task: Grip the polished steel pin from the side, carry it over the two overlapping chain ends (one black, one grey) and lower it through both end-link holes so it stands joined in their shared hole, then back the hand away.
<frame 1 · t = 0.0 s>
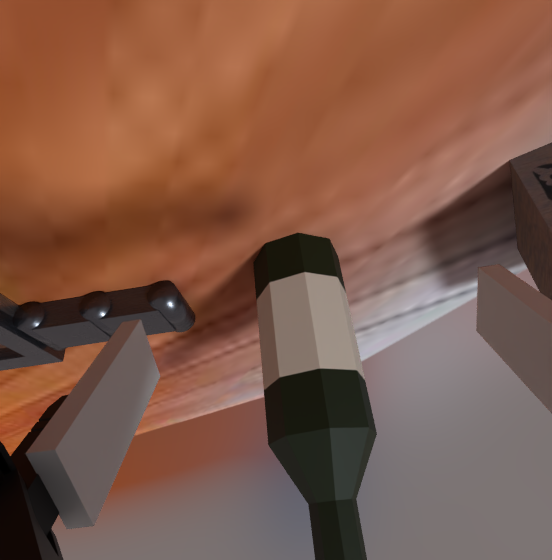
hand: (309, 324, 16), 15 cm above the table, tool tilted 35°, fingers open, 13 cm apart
wine bottle: (295, 257, 39), on the table
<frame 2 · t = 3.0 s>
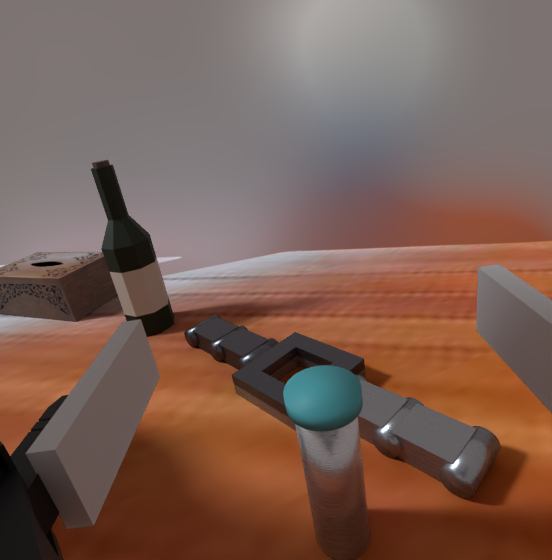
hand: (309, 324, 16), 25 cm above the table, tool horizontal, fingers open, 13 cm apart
steel pin: (342, 533, 34), on the table
chain ends: (300, 385, 52), on the table
wine bottle: (153, 326, 75), on the table
tissue box cover: (63, 304, 93), on the table
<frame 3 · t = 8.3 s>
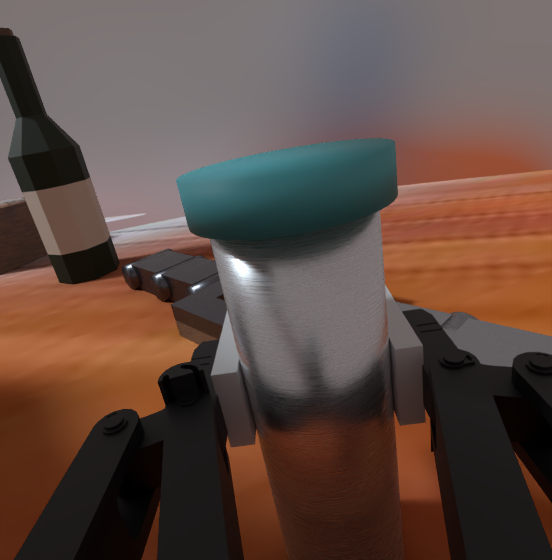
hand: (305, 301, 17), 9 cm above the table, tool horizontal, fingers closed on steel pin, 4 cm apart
steel pin: (344, 550, 16), on the table, touching gripper
chain ends: (275, 320, 34), on the table
wine bottle: (91, 273, 57), on the table
when the fingers open (9 cm above the table, at t = 13.6 s): steel pin stays where it is, resting in chain ends.
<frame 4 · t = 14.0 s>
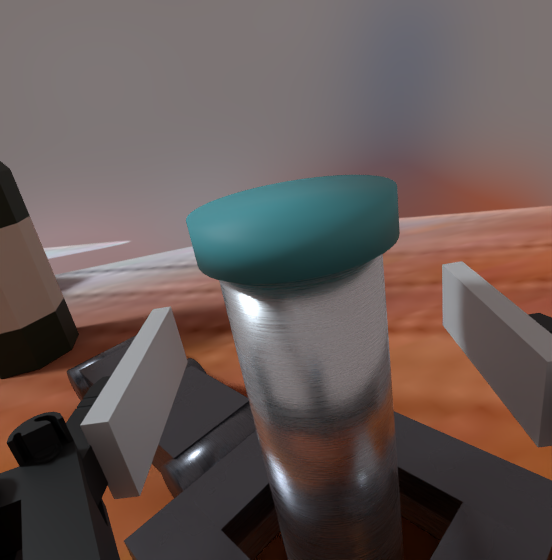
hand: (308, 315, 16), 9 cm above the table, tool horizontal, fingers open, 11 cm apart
wine bottle: (35, 353, 39), on the table
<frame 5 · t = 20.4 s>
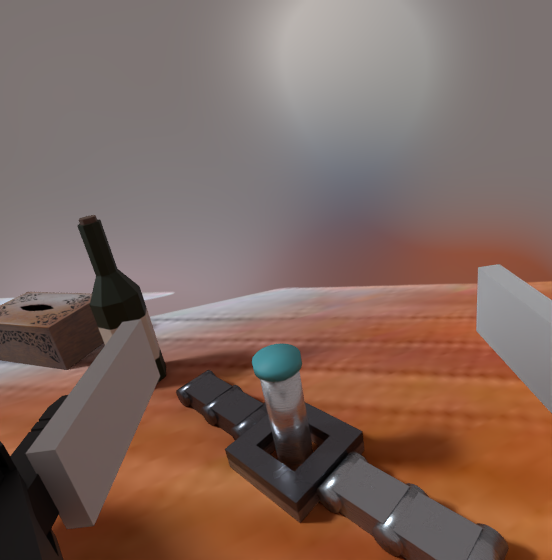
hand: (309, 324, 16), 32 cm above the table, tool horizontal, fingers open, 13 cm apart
steel pin: (296, 458, 50), resting in chain ends
chain ends: (296, 458, 50), on the table
wine bottle: (145, 378, 73), on the table
tissue box cover: (54, 346, 91), on the table
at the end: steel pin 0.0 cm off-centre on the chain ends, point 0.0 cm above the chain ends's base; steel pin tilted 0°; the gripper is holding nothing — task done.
